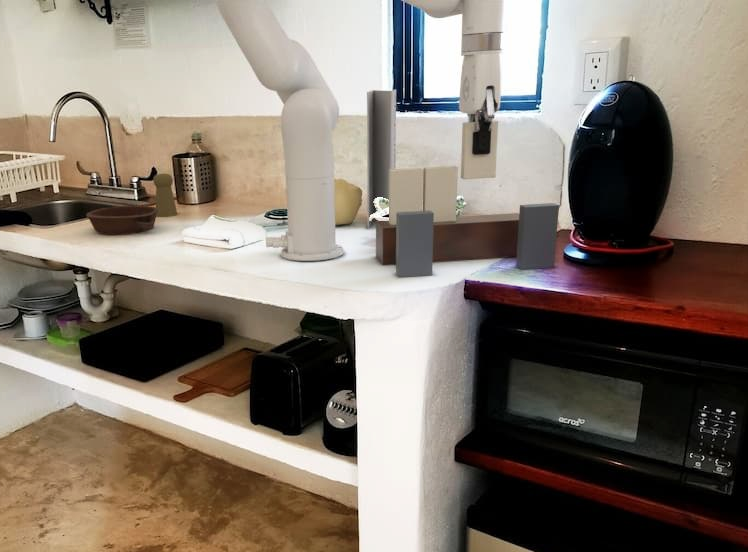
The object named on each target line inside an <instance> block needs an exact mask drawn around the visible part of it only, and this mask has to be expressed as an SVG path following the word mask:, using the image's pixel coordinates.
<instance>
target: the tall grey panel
mask: <svg viewBox="0 0 748 552" xmlns="http://www.w3.org/2000/svg"><path fill="white" fill-rule="evenodd" d="M366 147H367V148H366V152H367V153H366V166H367V167H366V172H367V174H366V176H367V177H366V179H367V181H366V182H367V183H366V184H367V187H366V189H367V190H366V192H367V193H366V195H367V196H366V197H367V199H366V200H367V202H366V203H367V205H366V207H367V208H366V209H367V210H366V211H367V230H370V227H371V225H372V223H373V221H372V222H371V221H369V217H370V215H371V214H373V213H375V212H376V211H377V210H376V208H375V206H374V203H373V201H374V199H375V198H377V197H383V198H386V199H388V200H389V170H390V169H397V168H396V162H397V161H396V157H397V155H396V153H397V150H396V147H397V89H396V88H395V89H392V90H379V89H378V90H377V89H375V90H374V89H373V90H369V91H367V92H366Z"/></svg>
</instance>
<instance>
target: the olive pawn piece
mask: <svg viewBox="0 0 748 552" xmlns="http://www.w3.org/2000/svg"><path fill="white" fill-rule="evenodd" d="M152 181H153V184H154V186H155V207H156V208H158V212H157V214H156V217H159V218H161V217H162V218H165V217H166V218H167V217H173V216H177V215H178V210H177V206H176V202H175V197H174V192H173V189H172V186H173V181H174V180H173V177H172V175H171V174H170V173H158V174H155V175H154V176H153V180H152Z"/></svg>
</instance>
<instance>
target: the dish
mask: <svg viewBox="0 0 748 552" xmlns="http://www.w3.org/2000/svg"><path fill="white" fill-rule="evenodd" d="M157 212H158V208H156V206H149V205H120V206H112V207H104V208H102V207H101V208H98V209H94V210H92V211H89V212H87V213H86V214H85V216H86V218H87V219H88V220H89V221H90V223H91V225H92V228H93V229H94V230H95V231H96V232H97V233H100V234H105V235H125V234H134V233H141V232H144V231H151V230H153V229H154V228H155V223H156V219H157V216H156V214H157Z"/></svg>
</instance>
